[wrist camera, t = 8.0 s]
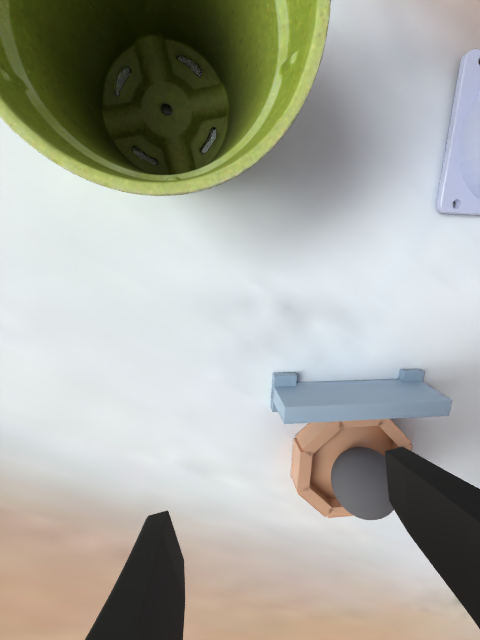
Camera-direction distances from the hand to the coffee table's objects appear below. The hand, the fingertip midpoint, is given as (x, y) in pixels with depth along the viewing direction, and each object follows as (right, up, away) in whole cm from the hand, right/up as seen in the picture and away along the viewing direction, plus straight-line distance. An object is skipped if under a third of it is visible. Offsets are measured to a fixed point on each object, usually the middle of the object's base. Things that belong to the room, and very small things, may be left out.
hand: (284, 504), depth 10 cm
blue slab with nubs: (+6, +2, +11) cm, 12 cm away
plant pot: (-5, +16, +6) cm, 18 cm away
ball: (+6, -3, +11) cm, 13 cm away
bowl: (+6, -3, +12) cm, 14 cm away
